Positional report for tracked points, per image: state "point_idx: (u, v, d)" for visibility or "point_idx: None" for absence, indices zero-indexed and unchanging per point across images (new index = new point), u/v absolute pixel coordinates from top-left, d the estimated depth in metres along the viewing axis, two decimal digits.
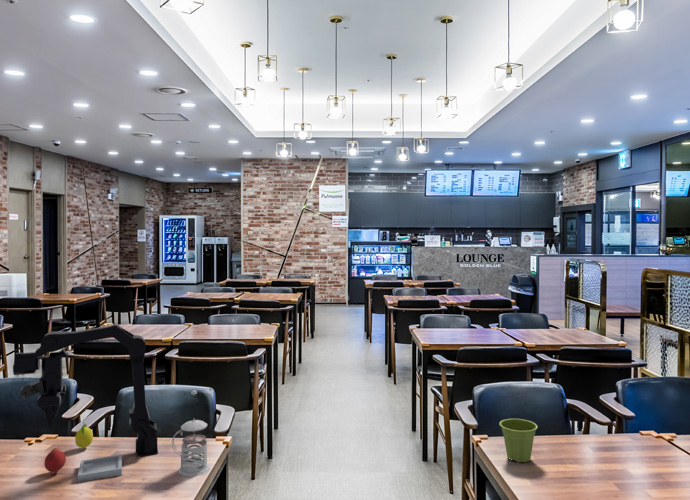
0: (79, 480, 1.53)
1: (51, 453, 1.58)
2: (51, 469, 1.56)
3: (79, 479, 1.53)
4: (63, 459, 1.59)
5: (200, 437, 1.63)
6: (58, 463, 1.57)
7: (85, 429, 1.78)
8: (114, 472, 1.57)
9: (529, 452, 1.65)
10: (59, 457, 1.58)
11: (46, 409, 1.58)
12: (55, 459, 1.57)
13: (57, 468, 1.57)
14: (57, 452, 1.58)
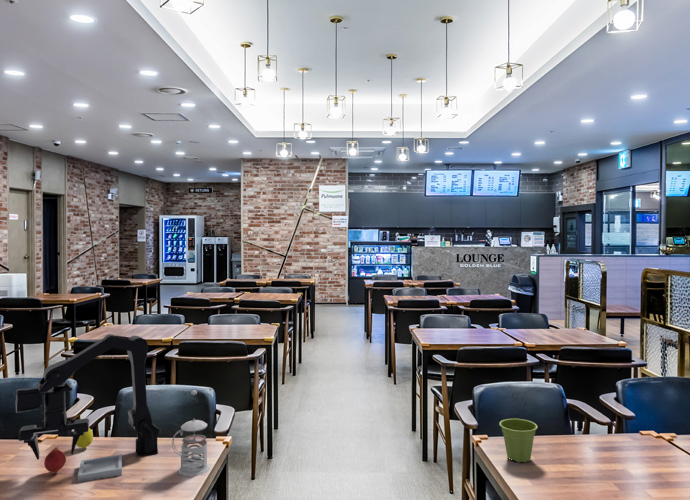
0: (79, 480, 1.53)
1: (51, 453, 1.58)
2: (51, 469, 1.56)
3: (79, 479, 1.53)
4: (63, 459, 1.59)
5: (200, 437, 1.63)
6: (58, 463, 1.57)
7: None
8: (114, 472, 1.57)
9: (529, 452, 1.65)
10: (59, 457, 1.58)
11: None
12: (55, 459, 1.57)
13: (57, 468, 1.57)
14: (57, 452, 1.58)
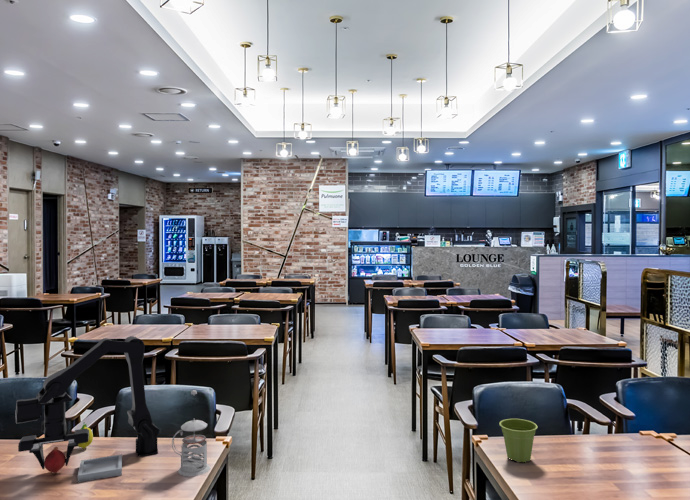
0: (79, 480, 1.53)
1: (51, 453, 1.58)
2: (51, 469, 1.56)
3: (79, 479, 1.53)
4: (63, 459, 1.59)
5: (200, 437, 1.63)
6: (58, 463, 1.57)
7: None
8: (114, 472, 1.57)
9: (529, 452, 1.65)
10: (59, 457, 1.58)
11: None
12: (55, 459, 1.57)
13: (57, 468, 1.57)
14: (57, 452, 1.58)
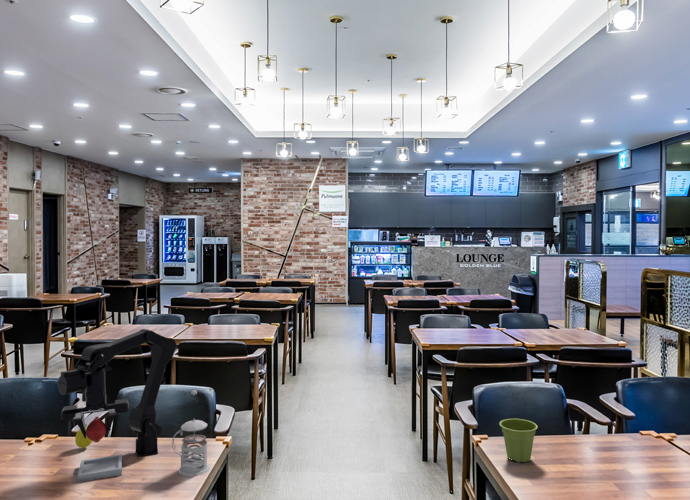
0: (79, 480, 1.53)
1: (92, 422, 1.59)
2: (93, 438, 1.58)
3: (79, 479, 1.53)
4: (104, 428, 1.60)
5: (200, 437, 1.63)
6: (100, 432, 1.58)
7: None
8: (114, 472, 1.57)
9: (529, 452, 1.65)
10: (100, 426, 1.59)
11: None
12: (97, 428, 1.58)
13: (99, 437, 1.59)
14: (98, 422, 1.60)
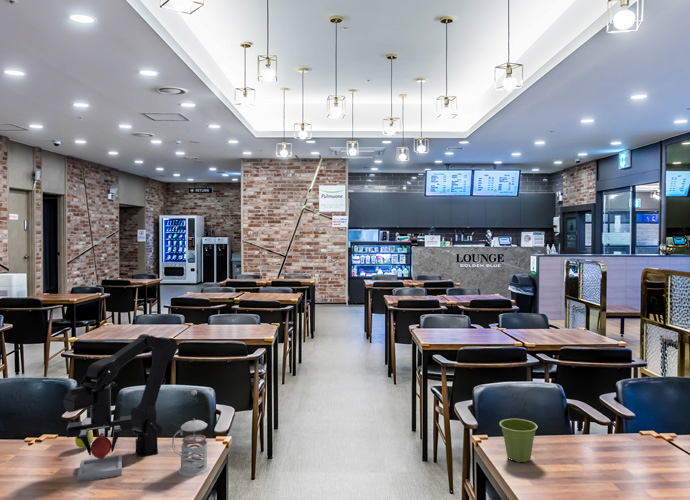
0: (79, 480, 1.53)
1: (97, 439, 1.59)
2: (97, 455, 1.58)
3: (79, 479, 1.53)
4: (109, 445, 1.60)
5: (200, 437, 1.63)
6: (105, 449, 1.59)
7: None
8: (114, 472, 1.57)
9: (529, 452, 1.65)
10: (106, 443, 1.59)
11: None
12: (102, 445, 1.58)
13: (104, 454, 1.59)
14: (103, 438, 1.60)
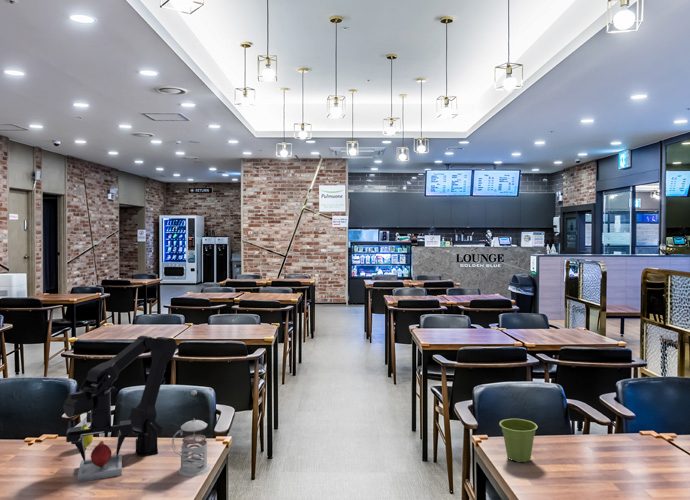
0: (79, 480, 1.53)
1: (97, 447, 1.59)
2: (98, 463, 1.58)
3: (79, 479, 1.53)
4: (109, 453, 1.60)
5: (200, 437, 1.63)
6: (105, 457, 1.59)
7: None
8: (114, 472, 1.57)
9: (529, 452, 1.65)
10: (105, 450, 1.60)
11: None
12: (102, 453, 1.59)
13: (104, 462, 1.59)
14: (103, 446, 1.60)
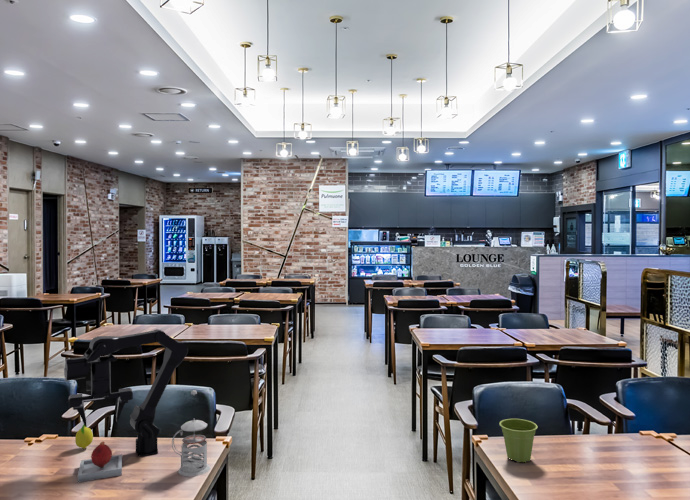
0: (79, 480, 1.53)
1: (98, 447, 1.59)
2: (98, 463, 1.58)
3: (79, 479, 1.53)
4: (110, 454, 1.60)
5: (200, 437, 1.63)
6: (105, 457, 1.59)
7: (85, 429, 1.78)
8: (114, 472, 1.57)
9: (529, 452, 1.65)
10: (106, 451, 1.59)
11: None
12: (103, 454, 1.58)
13: (104, 462, 1.59)
14: (104, 447, 1.60)
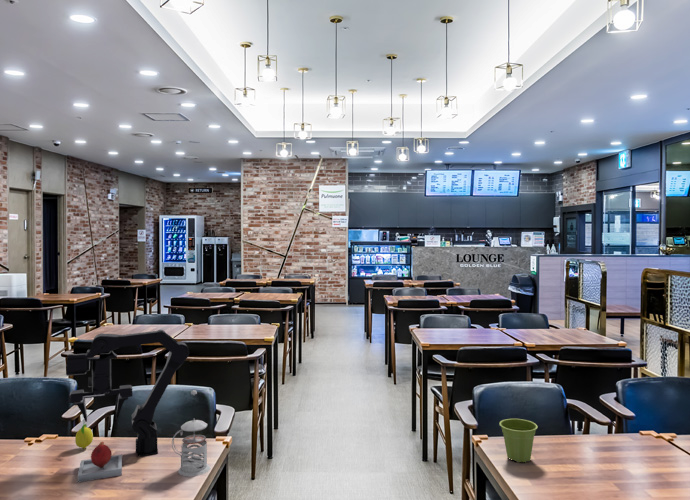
0: (79, 480, 1.53)
1: (98, 448, 1.59)
2: (98, 463, 1.58)
3: (79, 479, 1.53)
4: (109, 453, 1.60)
5: (200, 437, 1.63)
6: (105, 457, 1.59)
7: (85, 429, 1.78)
8: (114, 472, 1.57)
9: (529, 452, 1.65)
10: (106, 451, 1.59)
11: None
12: (102, 454, 1.58)
13: (104, 462, 1.59)
14: (103, 447, 1.60)
